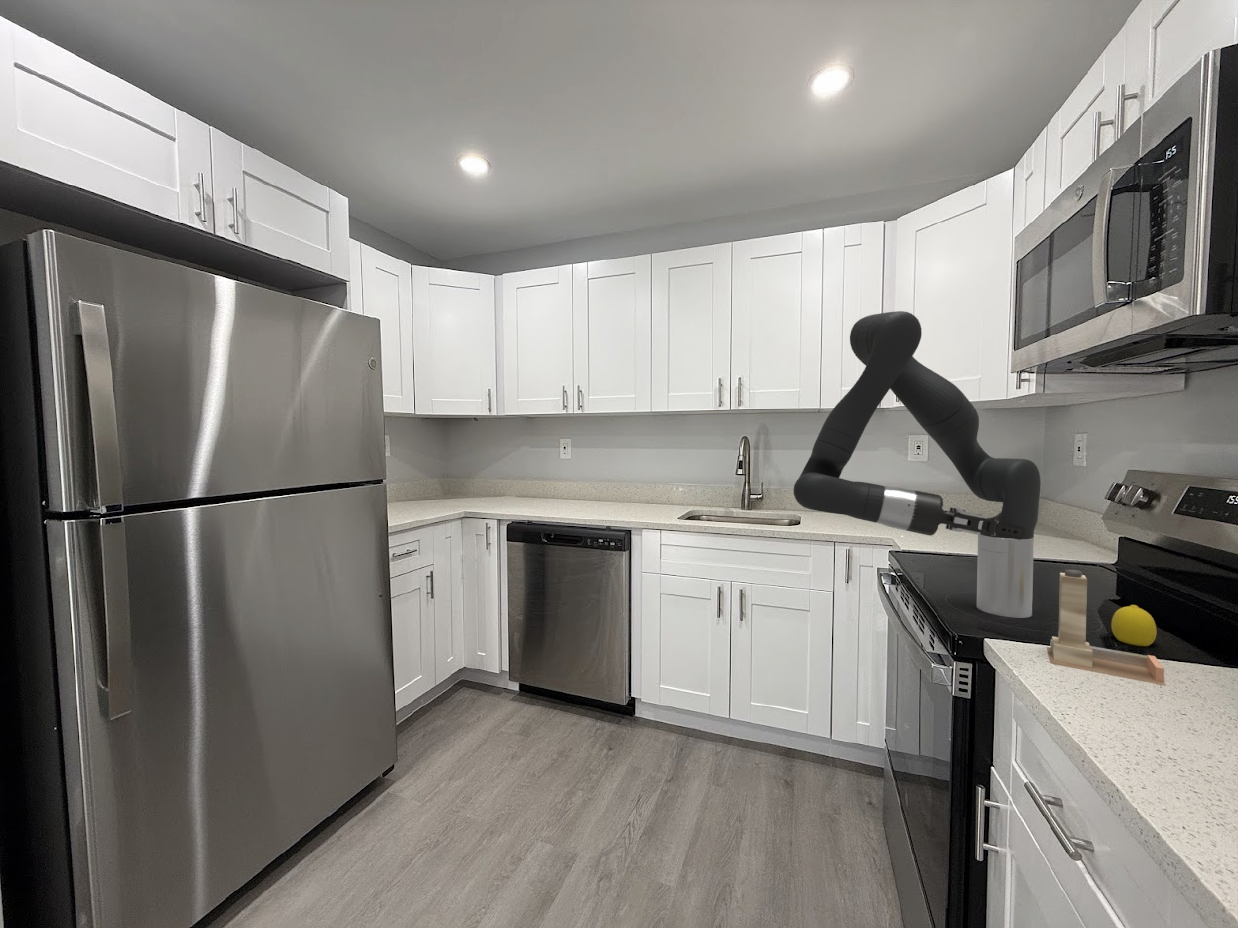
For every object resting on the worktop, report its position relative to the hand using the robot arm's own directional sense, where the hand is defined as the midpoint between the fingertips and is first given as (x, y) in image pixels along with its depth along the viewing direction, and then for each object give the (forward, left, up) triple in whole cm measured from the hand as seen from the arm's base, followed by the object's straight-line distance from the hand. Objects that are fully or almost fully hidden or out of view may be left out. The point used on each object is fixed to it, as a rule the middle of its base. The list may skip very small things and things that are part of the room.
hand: (1013, 531), depth 86 cm
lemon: (-15, +17, -22) cm, 31 cm away
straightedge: (-2, +11, -20) cm, 23 cm away
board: (+1, +11, -21) cm, 24 cm away
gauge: (+1, +8, -20) cm, 21 cm away
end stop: (+1, +17, -20) cm, 26 cm away
